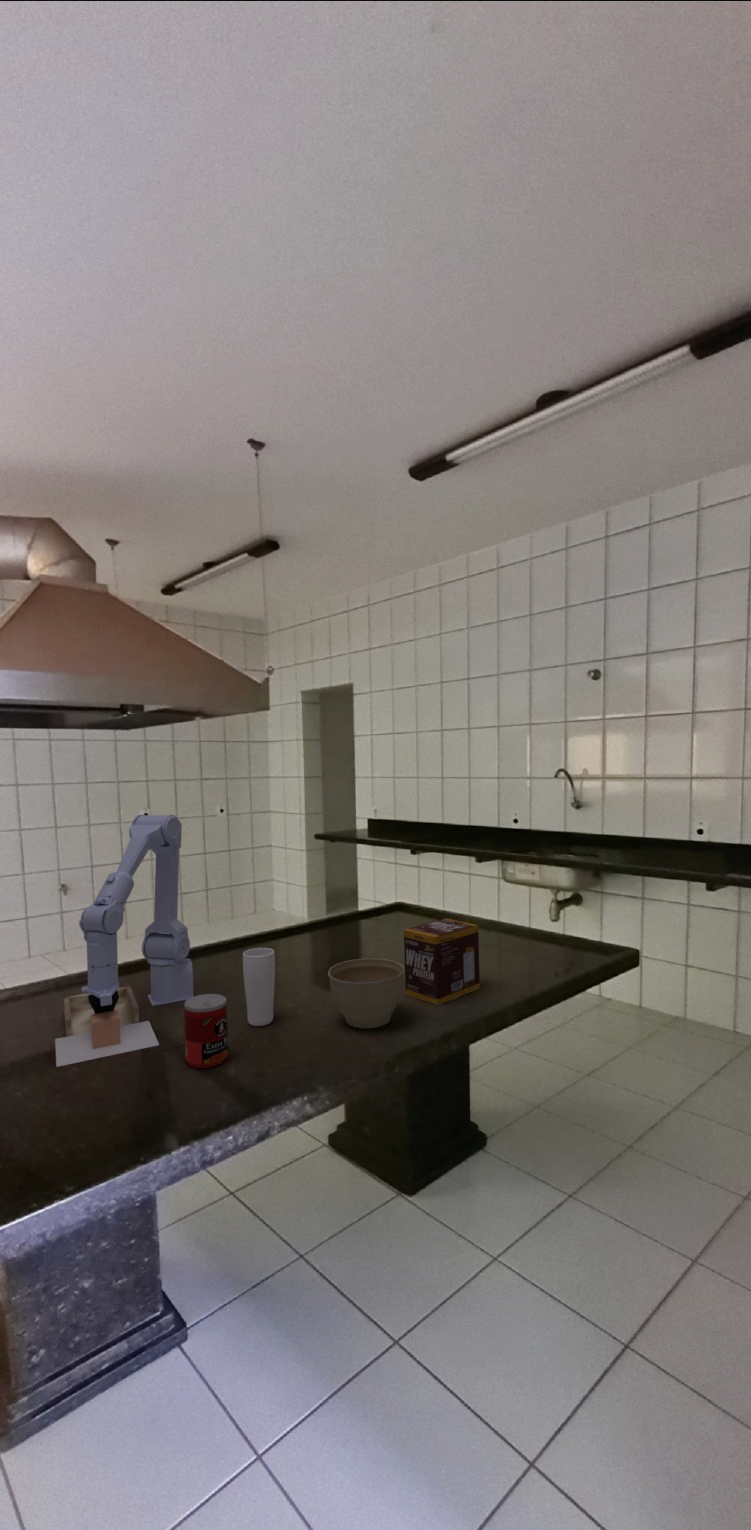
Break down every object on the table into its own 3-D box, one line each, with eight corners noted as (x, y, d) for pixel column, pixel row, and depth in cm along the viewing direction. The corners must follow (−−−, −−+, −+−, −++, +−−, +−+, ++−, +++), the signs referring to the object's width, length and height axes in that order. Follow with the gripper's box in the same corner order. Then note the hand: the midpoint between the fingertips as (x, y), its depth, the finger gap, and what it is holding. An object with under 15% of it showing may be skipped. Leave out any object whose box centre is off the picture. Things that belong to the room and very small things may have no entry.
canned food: (206, 1073, 115) (205, 1011, 115) (176, 1063, 119) (174, 1004, 119) (237, 1056, 121) (235, 998, 121) (207, 1047, 125) (205, 991, 125)
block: (118, 1034, 131) (117, 1010, 131) (120, 1043, 127) (119, 1018, 127) (91, 1039, 129) (90, 1015, 129) (92, 1049, 124) (92, 1023, 124)
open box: (130, 1003, 150) (130, 986, 150) (139, 1025, 137) (138, 1006, 137) (64, 1015, 144) (63, 997, 144) (66, 1039, 131) (65, 1020, 131)
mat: (148, 1023, 138) (148, 1020, 138) (159, 1048, 126) (159, 1045, 126) (55, 1042, 130) (55, 1039, 130) (56, 1070, 117) (56, 1067, 117)
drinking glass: (249, 1031, 132) (247, 958, 132) (240, 1020, 138) (238, 950, 139) (281, 1024, 136) (279, 953, 136) (270, 1014, 142) (269, 945, 142)
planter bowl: (355, 1002, 147) (353, 954, 147) (418, 1014, 139) (417, 963, 139) (314, 1027, 133) (312, 975, 134) (382, 1042, 125) (380, 986, 125)
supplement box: (404, 995, 151) (402, 929, 151) (448, 979, 161) (446, 917, 161) (437, 1007, 143) (435, 936, 143) (480, 989, 154) (479, 924, 154)
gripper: (79, 957, 136) (81, 1022, 136) (83, 976, 123) (84, 1047, 123) (115, 952, 139) (116, 1015, 139) (122, 970, 127) (124, 1039, 127)
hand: (104, 1030), depth 132 cm, fingers closed
